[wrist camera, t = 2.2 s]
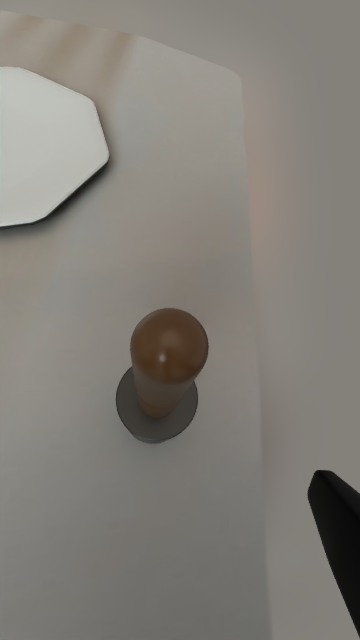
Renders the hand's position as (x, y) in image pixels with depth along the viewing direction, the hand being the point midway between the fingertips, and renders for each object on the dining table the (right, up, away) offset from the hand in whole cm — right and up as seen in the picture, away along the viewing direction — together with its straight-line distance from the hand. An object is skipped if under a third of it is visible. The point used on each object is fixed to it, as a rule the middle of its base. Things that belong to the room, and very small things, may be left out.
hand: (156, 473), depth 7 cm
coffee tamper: (-1, -2, +10) cm, 11 cm away
